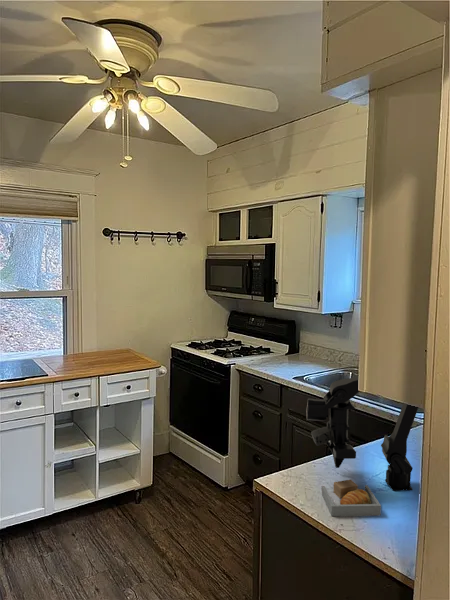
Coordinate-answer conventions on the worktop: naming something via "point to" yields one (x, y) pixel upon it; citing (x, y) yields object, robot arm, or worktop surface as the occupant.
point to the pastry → (356, 497)
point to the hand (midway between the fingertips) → (337, 467)
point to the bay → (353, 506)
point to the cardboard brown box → (344, 487)
